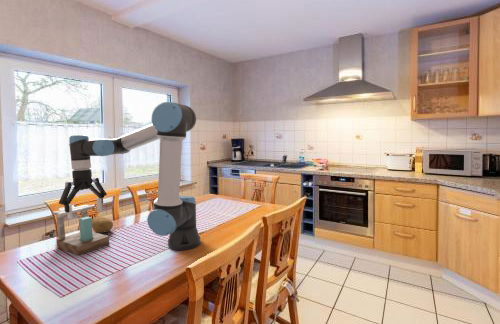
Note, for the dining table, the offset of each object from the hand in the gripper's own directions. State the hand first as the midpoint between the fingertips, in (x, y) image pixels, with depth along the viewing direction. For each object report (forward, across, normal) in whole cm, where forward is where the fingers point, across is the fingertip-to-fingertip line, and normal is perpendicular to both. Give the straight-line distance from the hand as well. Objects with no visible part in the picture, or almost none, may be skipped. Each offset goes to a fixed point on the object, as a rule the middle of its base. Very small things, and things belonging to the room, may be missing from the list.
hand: (85, 215), depth 126 cm
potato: (+16, -16, -14) cm, 26 cm away
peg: (+15, 0, -1) cm, 15 cm away
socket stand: (+15, 0, -4) cm, 16 cm away
